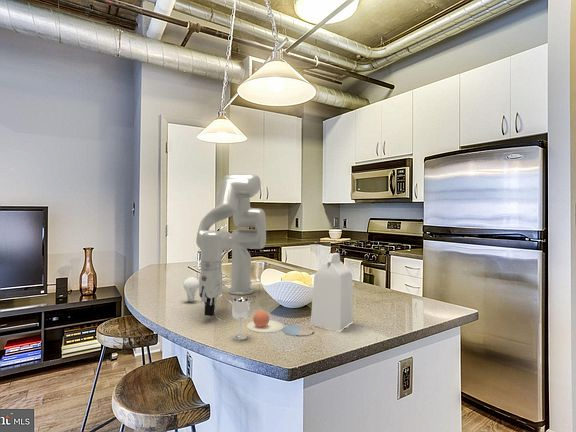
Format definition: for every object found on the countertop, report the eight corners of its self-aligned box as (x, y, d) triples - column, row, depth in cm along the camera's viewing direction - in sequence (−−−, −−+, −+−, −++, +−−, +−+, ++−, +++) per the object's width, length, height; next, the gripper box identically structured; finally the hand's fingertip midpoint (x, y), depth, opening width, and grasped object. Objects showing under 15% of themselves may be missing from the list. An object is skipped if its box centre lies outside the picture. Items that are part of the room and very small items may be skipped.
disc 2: (287, 323, 124) (287, 323, 124) (317, 327, 121) (317, 327, 121) (278, 333, 114) (278, 333, 114) (310, 338, 111) (310, 337, 111)
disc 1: (254, 318, 129) (254, 318, 129) (288, 323, 125) (288, 322, 125) (240, 329, 116) (240, 329, 116) (277, 334, 113) (277, 334, 113)
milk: (340, 332, 117) (342, 256, 117) (310, 325, 123) (312, 253, 123) (352, 323, 127) (355, 253, 127) (325, 317, 133) (327, 251, 133)
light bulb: (194, 304, 145) (195, 278, 145) (180, 303, 147) (180, 277, 147) (201, 301, 152) (202, 276, 152) (187, 299, 153) (188, 275, 153)
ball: (260, 306, 123) (273, 312, 121) (256, 319, 124) (269, 326, 122) (252, 310, 118) (266, 318, 116) (248, 325, 119) (262, 332, 117)
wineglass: (231, 334, 112) (232, 297, 112) (249, 334, 112) (250, 297, 112) (229, 340, 106) (231, 302, 106) (248, 340, 107) (249, 302, 107)
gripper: (210, 269, 118) (208, 322, 119) (229, 263, 133) (227, 310, 133) (191, 267, 120) (189, 319, 121) (211, 262, 135) (210, 308, 135)
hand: (209, 315), depth 127 cm, fingers closed
